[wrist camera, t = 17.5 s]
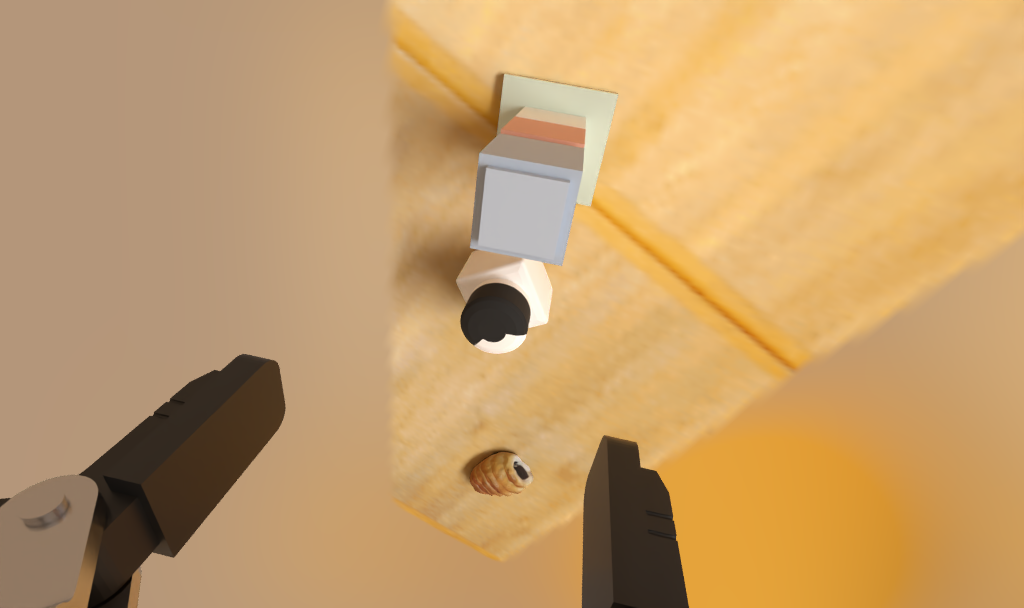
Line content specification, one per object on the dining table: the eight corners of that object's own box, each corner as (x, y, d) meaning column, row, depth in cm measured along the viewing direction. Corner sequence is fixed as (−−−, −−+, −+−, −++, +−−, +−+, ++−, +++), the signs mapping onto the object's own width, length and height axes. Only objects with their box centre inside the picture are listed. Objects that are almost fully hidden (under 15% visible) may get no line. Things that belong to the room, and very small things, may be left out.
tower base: (505, 73, 39) (489, 78, 33) (617, 93, 39) (623, 103, 32) (491, 184, 44) (475, 207, 38) (590, 203, 44) (590, 230, 38)
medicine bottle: (471, 250, 49) (438, 306, 38) (532, 232, 46) (515, 285, 36) (495, 305, 52) (471, 370, 41) (553, 289, 49) (544, 354, 39)
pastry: (488, 490, 69) (483, 512, 66) (461, 463, 67) (454, 484, 64) (537, 473, 65) (534, 495, 62) (511, 443, 63) (506, 465, 60)
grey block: (499, 133, 28) (476, 155, 23) (584, 148, 28) (582, 174, 22) (489, 214, 31) (467, 252, 26) (567, 229, 31) (561, 270, 25)
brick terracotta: (514, 116, 34) (499, 130, 28) (585, 129, 34) (584, 145, 28) (505, 186, 37) (489, 212, 31) (570, 199, 37) (566, 227, 31)
